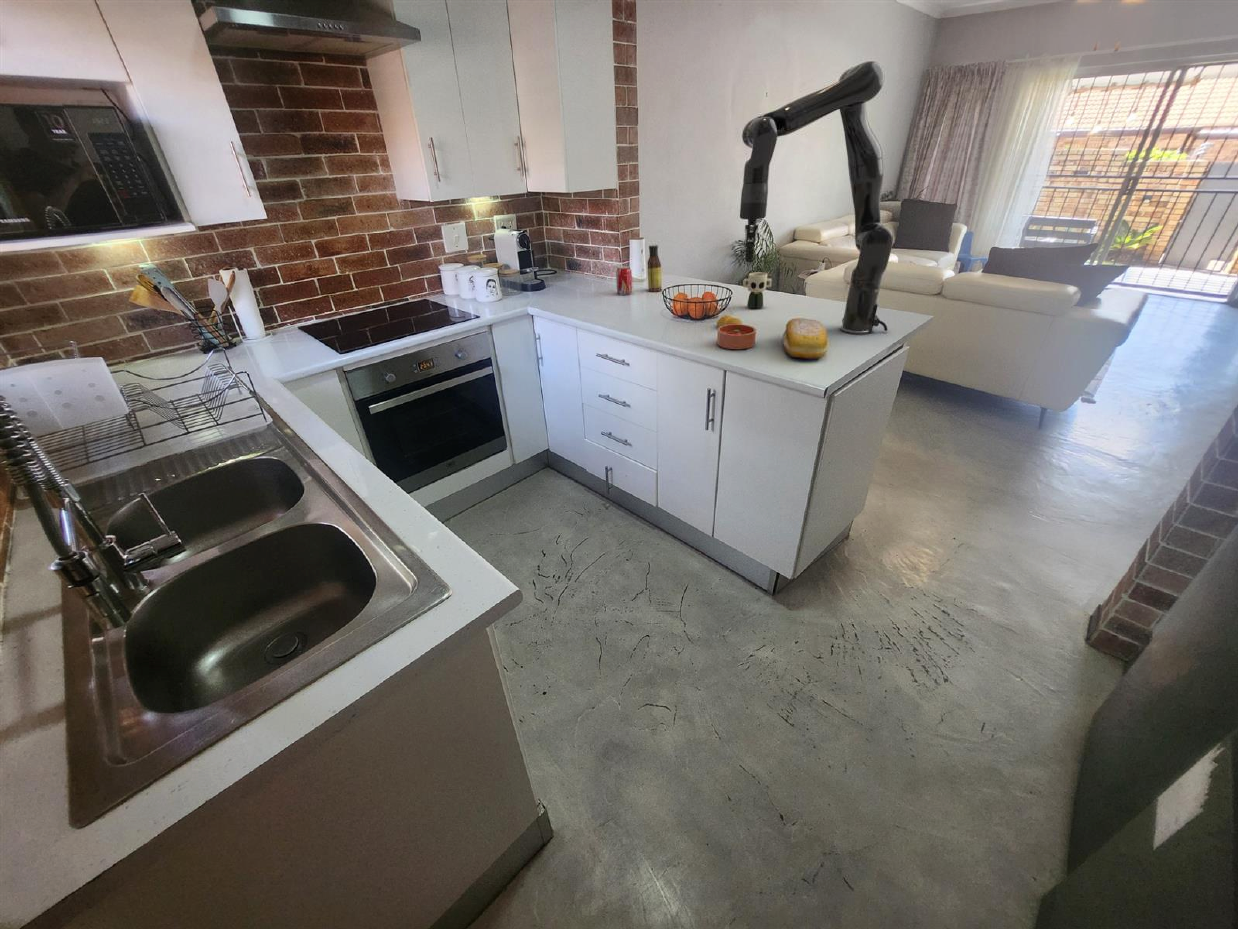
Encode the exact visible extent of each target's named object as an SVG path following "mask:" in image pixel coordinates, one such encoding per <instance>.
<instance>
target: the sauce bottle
mask: <svg viewBox="0 0 1238 929" xmlns="http://www.w3.org/2000/svg"><path fill="white" fill-rule="evenodd" d="M658 249H659V245H658V244H650V245H648V250H649V258H648V259H647V284H648V285H647V286H648V291H649V292H653V293H657V292H660V291H662V286H663V284H662V283H663V282H662V264H661V261H660V258H659V253H658V252H659V251H658Z"/></svg>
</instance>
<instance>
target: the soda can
mask: <svg viewBox="0 0 1238 929" xmlns="http://www.w3.org/2000/svg"><path fill="white" fill-rule="evenodd" d="M615 272H616V273H615V275H616V276H615V278H616V292H617V294H618V295H619V296H628V295H631V294H632V293H633V274H632V269H631V266H630V265H617V269H616V271H615Z"/></svg>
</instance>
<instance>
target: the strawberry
mask: <svg viewBox="0 0 1238 929" xmlns="http://www.w3.org/2000/svg"><path fill="white" fill-rule="evenodd" d="M731 335H741V333H740V332H739V330H734V332H733V333H732V334H731Z"/></svg>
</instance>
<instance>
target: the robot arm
mask: <svg viewBox="0 0 1238 929" xmlns="http://www.w3.org/2000/svg"><path fill="white" fill-rule="evenodd" d="M884 83H885V70H884V68H883V66H882V65H881V64H880V63H879V62H877V61H875V60H870V61H864V62H861V63H858V64H857V65H854V66H851V67H850V68H848V69H846V70H845V71H844V72H842V74H841V75H840V76H839V78H838V81H837V82H835V83H833V84H831V85H828V86H826V87H823V88H822V89H818V90H816V91H814V92H811V93H808V94H806V95H803V96H801V97H799V98H797V99H795V100H792V101H791V102H788V103H786V104H785V105H783V106H781V107H779V108H777V109H775V110H772V111H769V112H766V113H765V114H762V115H759V116H756V117H754V118H752V119H751V120H749V121H747V123H746V124H745V126H744V127H743V130H742V133H741V139H742V142H743V144H744V146H746V147H748V148H750V149H751V153H750V158H749V159H748V160H746V161H745V163H744V168H743V177H742V179H743V180H742V188H741V192H740V193H741V196H740V207H739V218H740V219H741V220H747V224H745V225H744V233H745V234H744V242H745V259H744V261H745V263H753V261H754V250H755V247H756V242H757V240H758V239H757V238H758V233H759V226H760V225H759V224H757V222H758V221H757V220H762V219H765V218H766V217H767V207H768V197H769V177H770V167H771V166H770V165H771V162H772V159H773V156H774V153H775V148H776V145H777V142H778V138H779V137H783V136H787V135H791V134H792V133H795V132H797V131H799V130H801V129H803V128H805V127H807V126H810V125H811V124H814V123H815V122H816V121H819V120H821V119H822V118H824V117H826V116H828V115H830V114H832V113H835V112H836V111H838V110H839V114H840V118H841V123H842V128H843V133H844V141H845V150H846V157H847V167H848V168H847V170H848V177H849V178H848V179H849V184H850V192H851V199H852V205H853V210H854V244H855V247H856V249H857V251H858V252H859V255H858V260H857V263H856V266H855V267H854V268H853V269H852V271H851V277H850V282H849V286H848V292H847V298H846V304H845V309H844V314H843V317H842V320H841V322H842V324H841V328H840V329H841V331H843V332H845V333H848V334H857V335H861V334H862V335H863V334H871V333H873V329H874V327H879V325H881V326H882V327H883V330H884V332H888V326H887V324H886V323H885V321H883V320H880V317H879V316H878V315H876V314H877V311H878V306H879V304H878V297H879V293H880V288H881V283H882V280H883V276H884V273H885V272H886V271H887V267H888V265H889V260H890V257H891V253H892V248H893V244H894V235H893V232H892V230H891V229H890V228H889V227H887V226H886V225H883V221H882V215H881V208H880V207H881V206H880V203H881V202H880V200H881V193H882V189H883V185H884V177H885V176H884V158H883V150H882V146H881V144H880V142H879V140H878V139H877V137H876V135H875V133H874V132H873V130H872V128H871V126H870V124H869V123H870V122H869V120H868V115H867V106H866V105H867V104H866V103H868V102H869V101H871V100H873V99H874V98H875V97H876V96H877V95H878V94H879V93H880V92H881V90H882V88H883V86H884Z"/></svg>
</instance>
